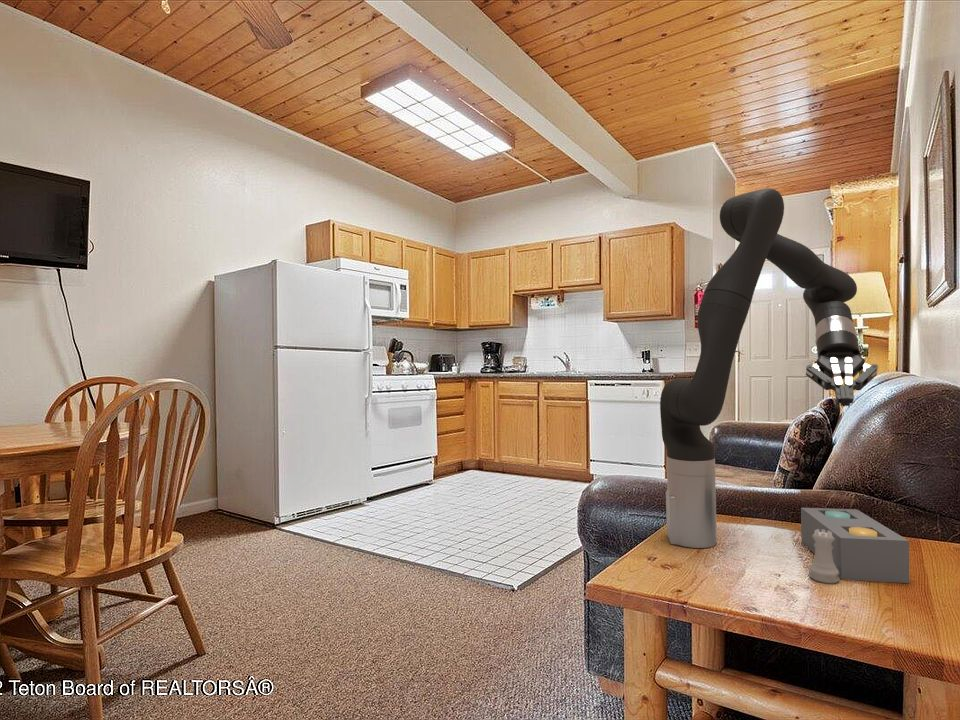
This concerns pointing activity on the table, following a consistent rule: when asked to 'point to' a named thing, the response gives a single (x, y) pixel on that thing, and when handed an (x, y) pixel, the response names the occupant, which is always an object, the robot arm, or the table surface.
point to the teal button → (837, 514)
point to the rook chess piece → (823, 559)
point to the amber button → (862, 531)
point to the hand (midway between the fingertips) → (845, 403)
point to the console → (859, 546)
